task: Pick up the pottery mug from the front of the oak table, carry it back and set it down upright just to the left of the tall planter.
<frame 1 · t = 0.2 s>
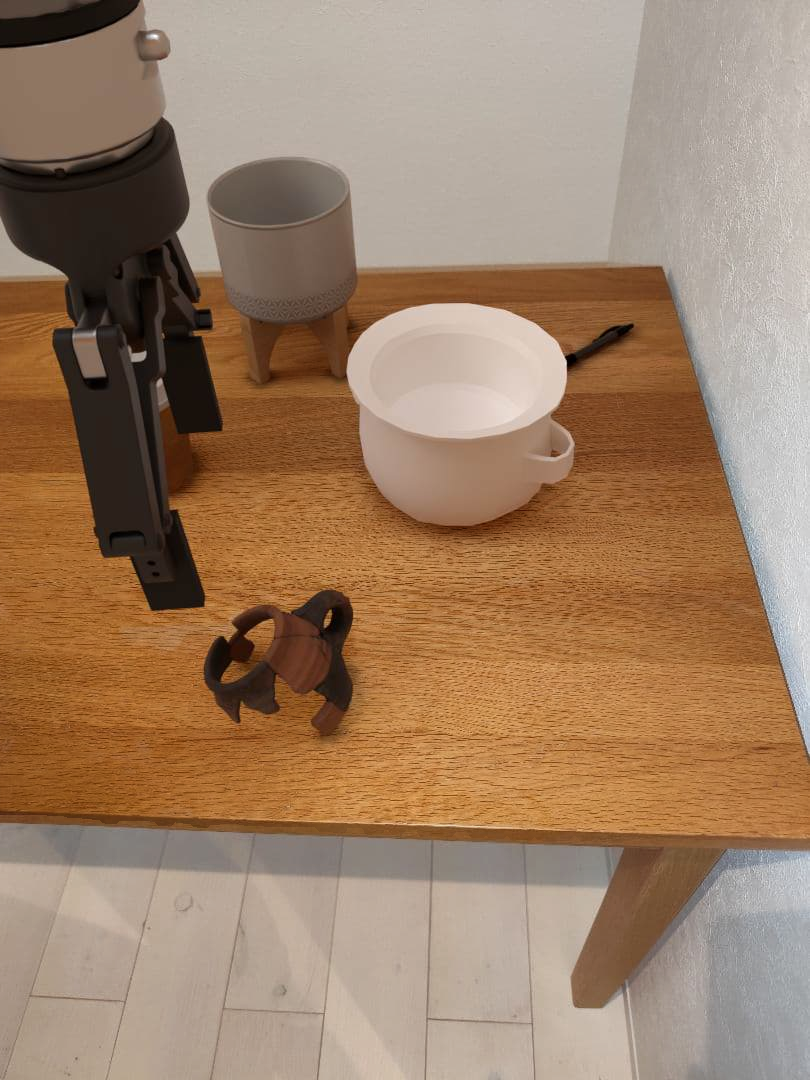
hand: (190, 508, 51), 20 cm above the table, tool pointing down, fingers open, 13 cm apart
pen: (582, 356, 92), on the table
planter: (301, 352, 94), on the table
pot: (454, 475, 81), on the table
pottery mug: (297, 684, 67), on the table
disposable coffee cup: (159, 473, 82), on the table
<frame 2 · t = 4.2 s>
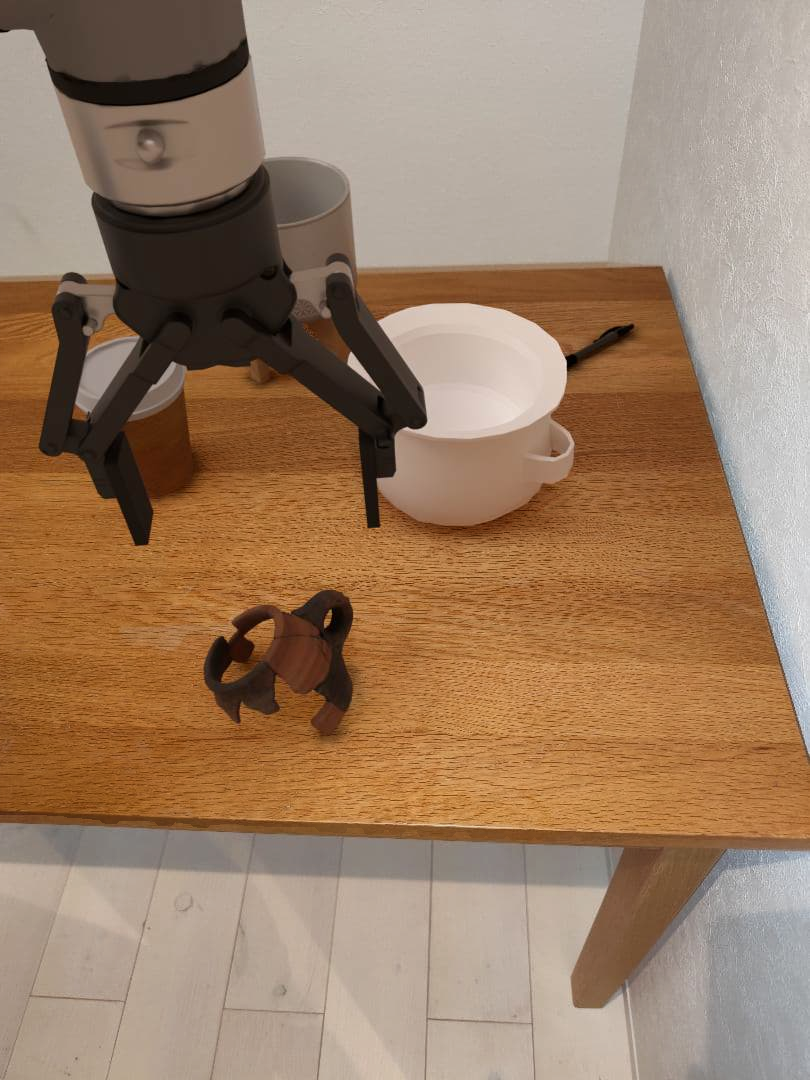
hand: (259, 520, 53), 18 cm above the table, tool pointing down, fingers open, 13 cm apart
nothing on the table moved.
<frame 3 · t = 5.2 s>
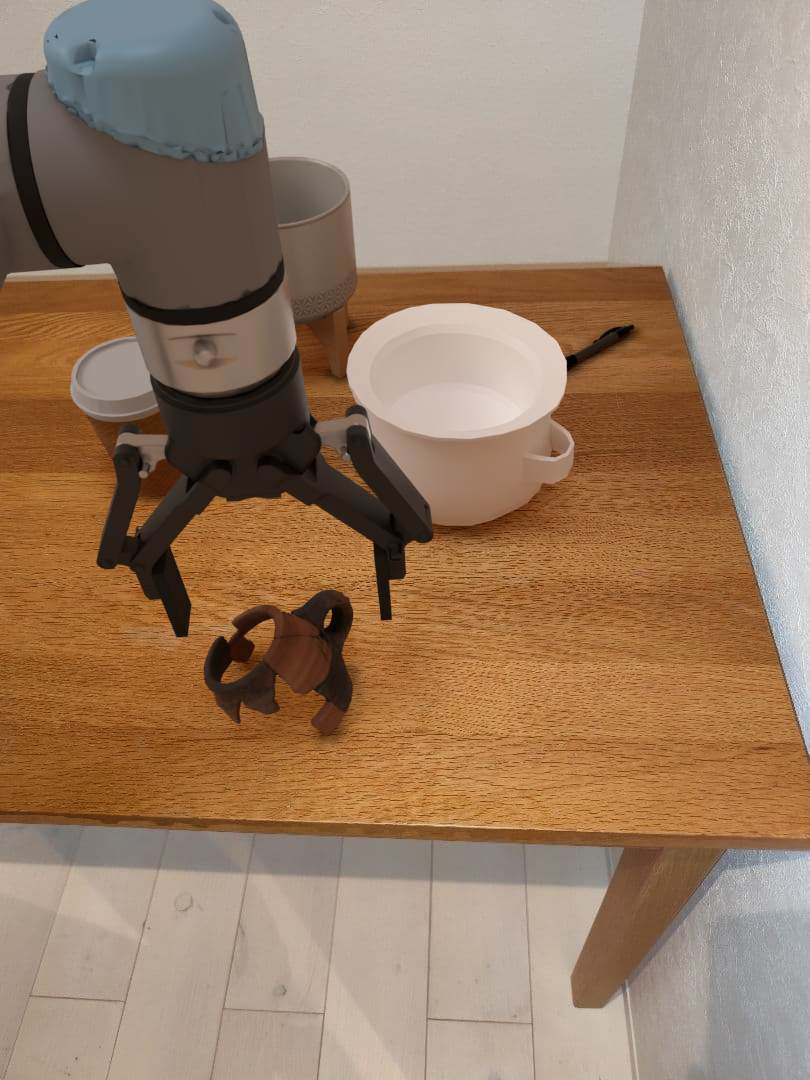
hand: (285, 613, 60), 9 cm above the table, tool pointing down, fingers open, 13 cm apart
nothing on the table moved.
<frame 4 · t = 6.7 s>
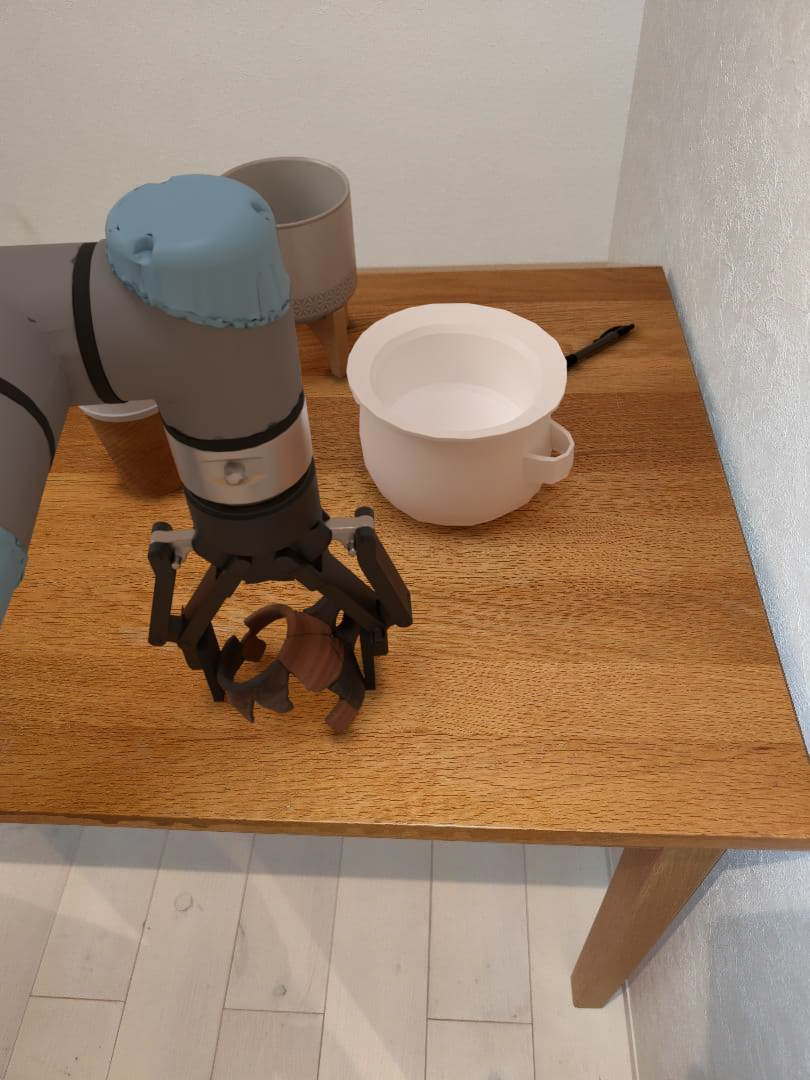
hand: (295, 680, 66), 0 cm above the table, tool pointing down, fingers closed on pottery mug, 10 cm apart
pottery mug: (309, 682, 67), on the table, touching gripper
everything else where it was.
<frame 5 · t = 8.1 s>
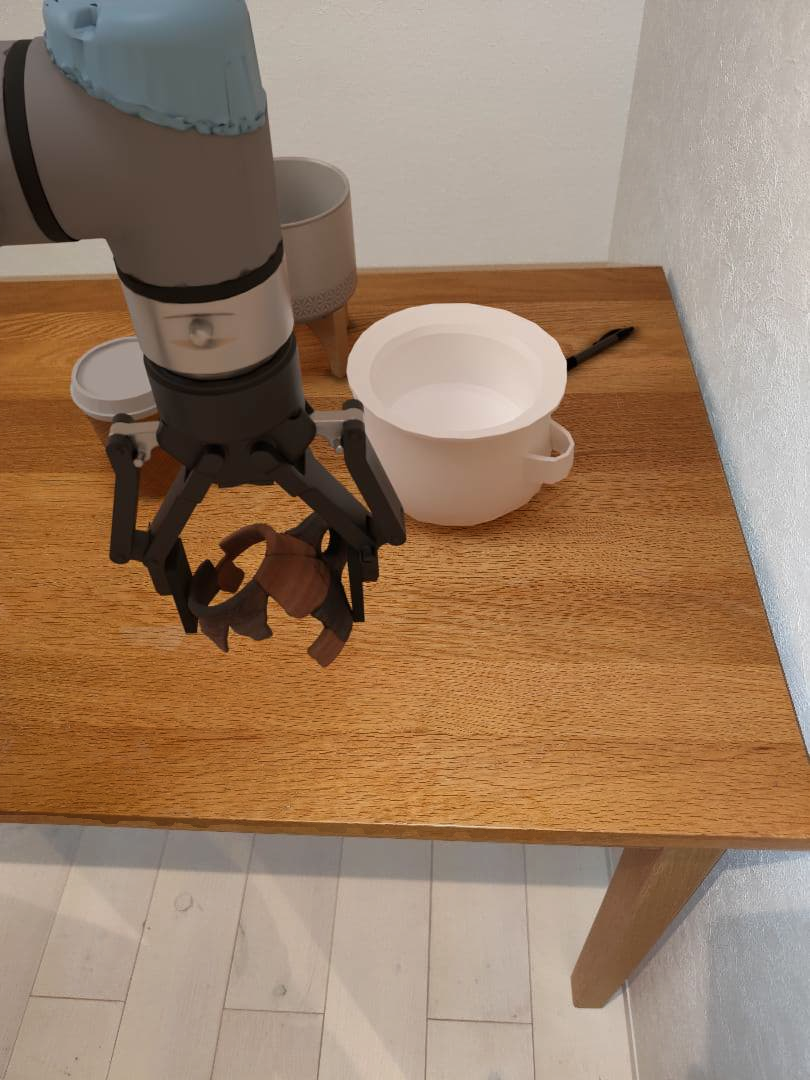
hand: (276, 611, 60), 9 cm above the table, tool pointing down, fingers closed on pottery mug, 10 cm apart
pottery mug: (292, 615, 60), point 8 cm above the table, touching gripper
everything else where it was.
when the fingers open (0 cm above the table, at t = 19.0 s): pottery mug stays where it is, on the table.
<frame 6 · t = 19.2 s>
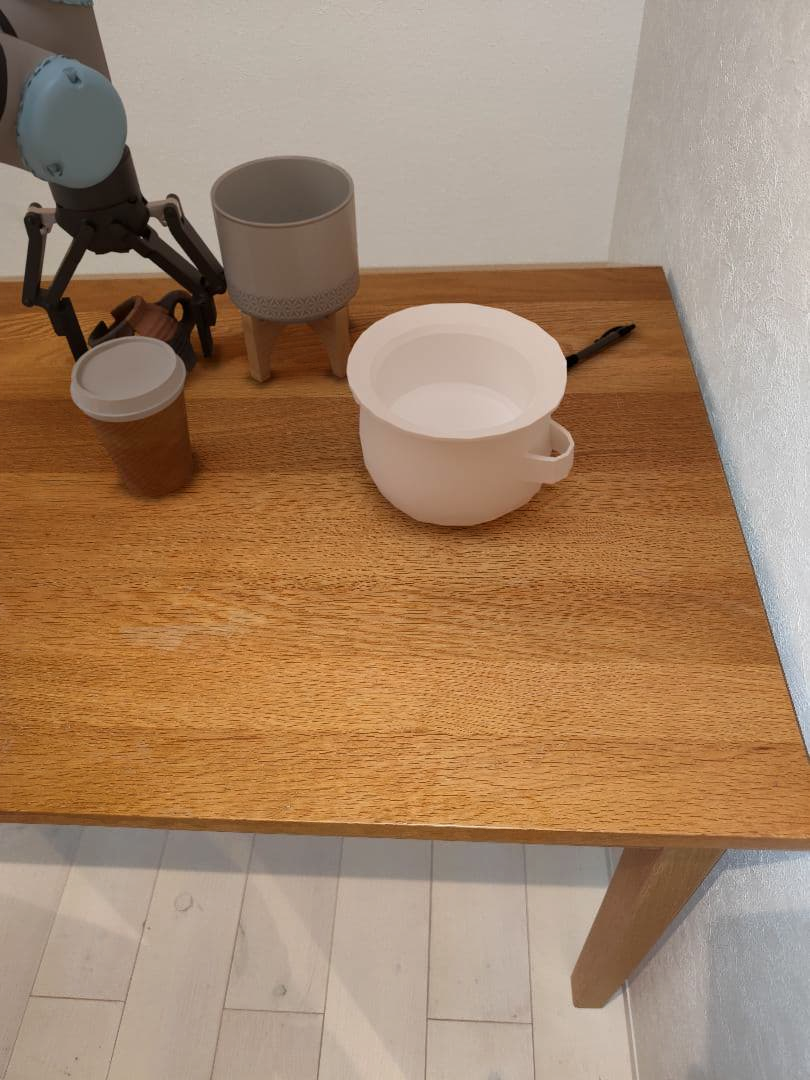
hand: (146, 354, 93), 1 cm above the table, tool pointing down, fingers open, 12 cm apart
planter: (302, 352, 94), on the table, touching gripper, hand
pottery mug: (159, 362, 94), on the table
everything else where it was.
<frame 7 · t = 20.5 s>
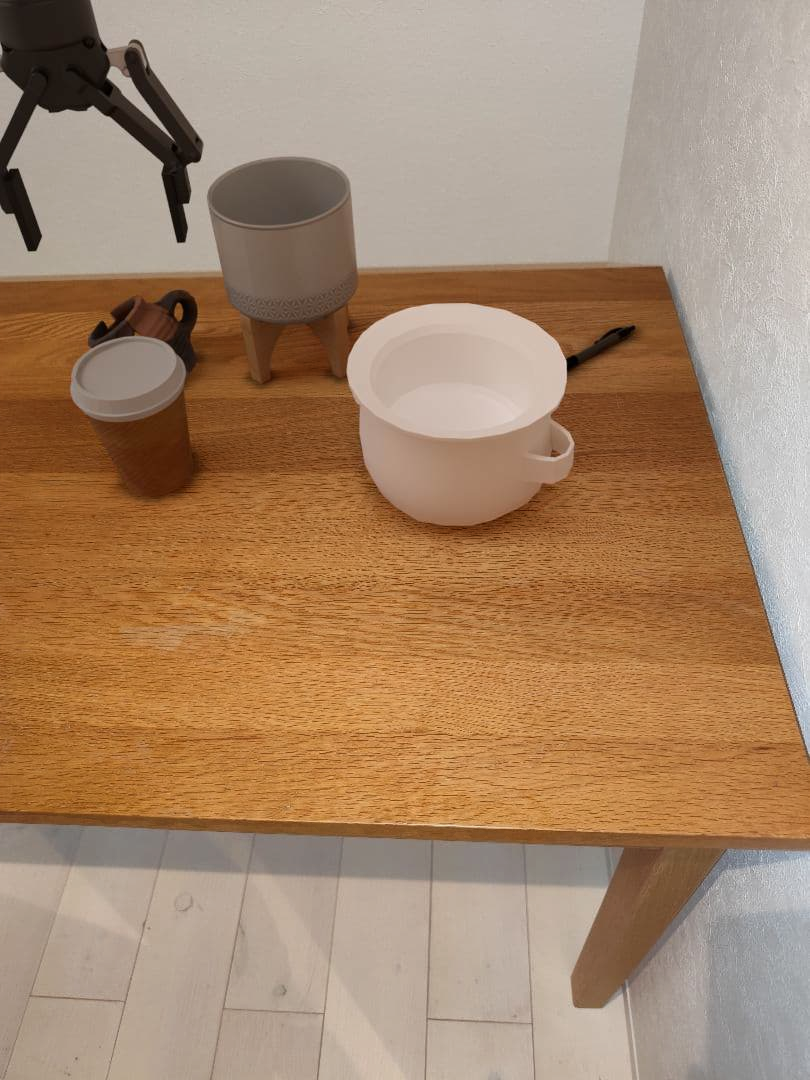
hand: (109, 240, 83), 14 cm above the table, tool pointing down, fingers open, 13 cm apart
planter: (302, 352, 94), on the table
everything else where it was.
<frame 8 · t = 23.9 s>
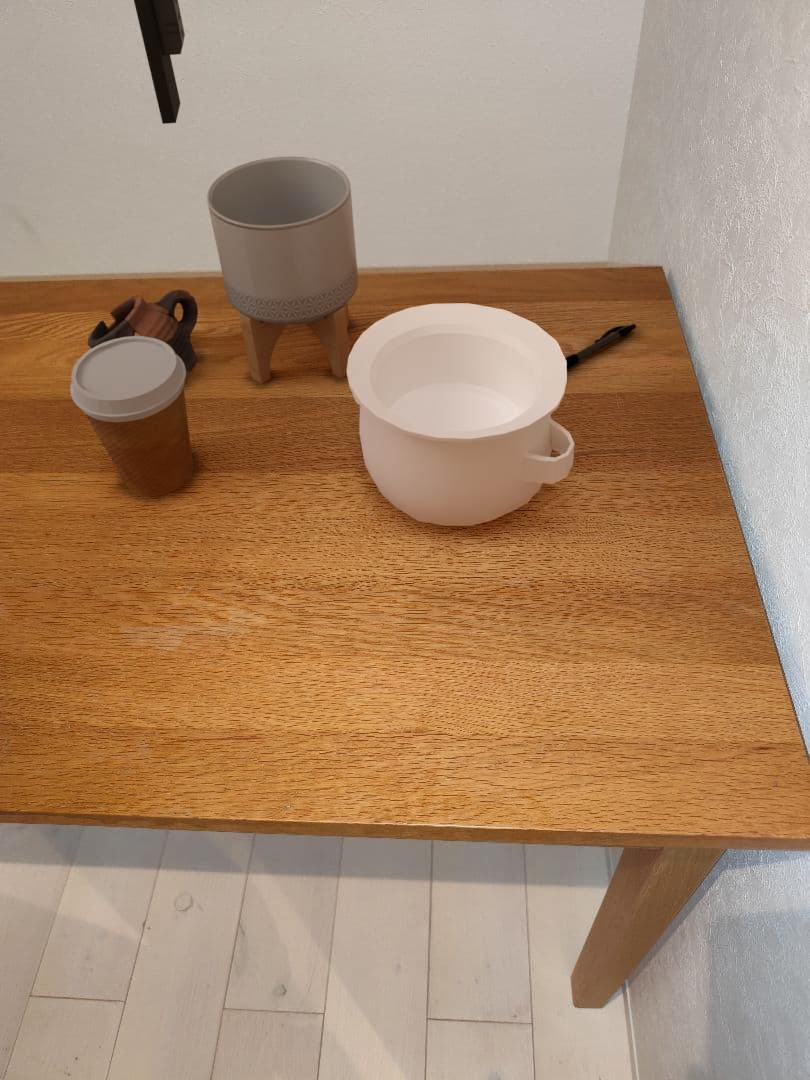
hand: (54, 121, 52), 35 cm above the table, tool pointing down, fingers open, 13 cm apart
nothing on the table moved.
at the end: pottery mug inside the target area on the table beside the planter (1.0 cm from its centre), on the table; pottery mug tilted 0°; the gripper is holding nothing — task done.
